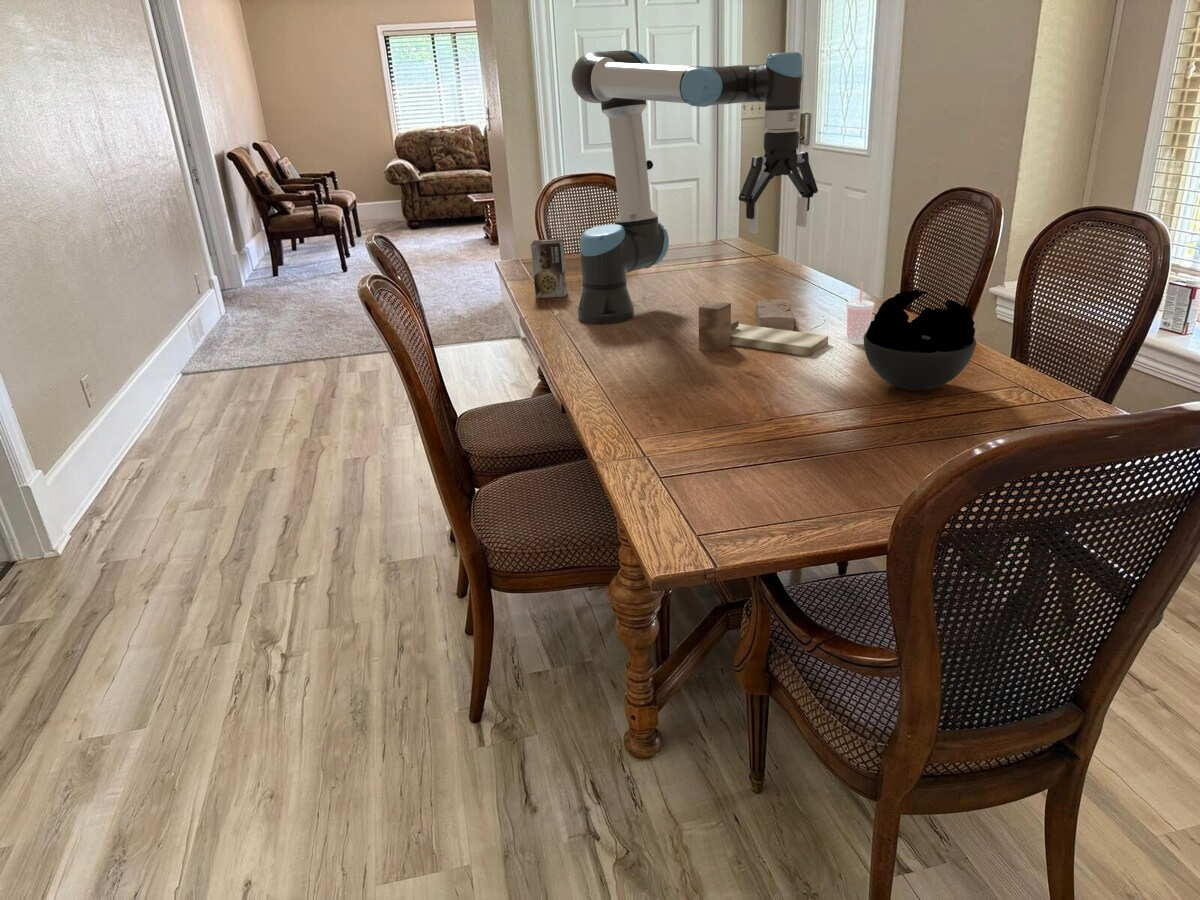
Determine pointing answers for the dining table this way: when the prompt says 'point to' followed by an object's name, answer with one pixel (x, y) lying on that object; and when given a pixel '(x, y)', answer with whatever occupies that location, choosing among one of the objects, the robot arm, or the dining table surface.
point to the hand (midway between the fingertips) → (777, 229)
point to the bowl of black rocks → (919, 343)
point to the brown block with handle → (715, 326)
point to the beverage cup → (858, 318)
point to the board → (778, 340)
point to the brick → (775, 314)
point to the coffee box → (549, 268)
